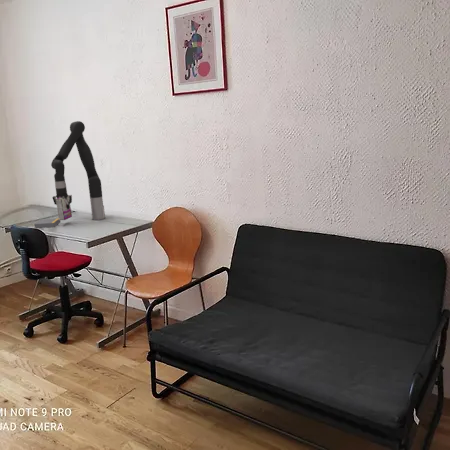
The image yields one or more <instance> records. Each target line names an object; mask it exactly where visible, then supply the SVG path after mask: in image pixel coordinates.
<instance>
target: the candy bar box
mask: <svg viewBox="0 0 450 450" xmlns="http://www.w3.org/2000/svg"><path fill="white" fill-rule="evenodd" d="M67 199H68V201H69V197H67ZM67 199H66V200H67ZM56 204H57V205H56ZM56 204H55V205H56V210H57V216H58V218H59V220H60V221H66V220H68V219H70V218H72V216H73V215H72V208H71V203H70V204H69V205H70V208H69V209H67V203H66V202H65V198H63V197H62V198H57V197H56Z"/></svg>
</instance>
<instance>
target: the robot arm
mask: <svg viewBox="0 0 450 450" xmlns="http://www.w3.org/2000/svg"><path fill="white" fill-rule="evenodd" d="M85 129H86V127H85V123H84V122H82V121H79V120H77V121H73V122H71V123H70V124H69V130H70V134H69V135H68V137H67V138H66V140H65V141H64V142H63V144H62V145H61V147H60V149H59V151H58V152H57V154H56V155H55V157H54V158H53V160H52V161H51V164H50V165H51V167H52V169H53V170H55V173H54V176H53V178H54V186H55V187H54V188H55V195H54V196H52V200H53V204H54V205H55V206H57V204H56V199H57V198H62V197H63V198H65V202H66V203H67V209H69V208H70V207H71V204H72V202H73V196H72V194H68V190H67V189H68V188H67V184H66V178H65V169H66V167H65V163H64V161H65V160H67V159H68V157H69V155H70V154H71V151H72V150H73V148H74V146H76V149H77V152H78V155H79V156H78V157H79V159H80V161H81V165H82V166H83V168H84V170H85V173H86V177H87V182H88V183H87V184H88V191H89V200H90V208H91V209H90V210H91V218H92V220H94V221H98V220H99V221H100V220H104V219H105V218H106V214H105V213H106V211H105V205H104V199H103V190H102V180H101V179H100V176H99V174H98V172H97V169H96V166H95V160H94V156H93V153H92V150H91V148H90V146H89V145H88V143H87V141H86V140H85V137H84V132H85ZM67 197H69V201H68V199H67ZM66 199H67V200H66ZM69 204H70V205H69Z"/></svg>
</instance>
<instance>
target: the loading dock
mask: <svg viewBox="0 0 450 450" xmlns="http://www.w3.org/2000/svg"><path fill="white" fill-rule="evenodd" d="M60 223H61V220H59V217H58V218H57V217H56V218H41V219H39V220H38V221H37V222H35V223H34V225H33V226H34V228H35V227H36V228H35V229H40V228H41V229H44V228H54V227H56V226H57V225H59V224H60Z"/></svg>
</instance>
